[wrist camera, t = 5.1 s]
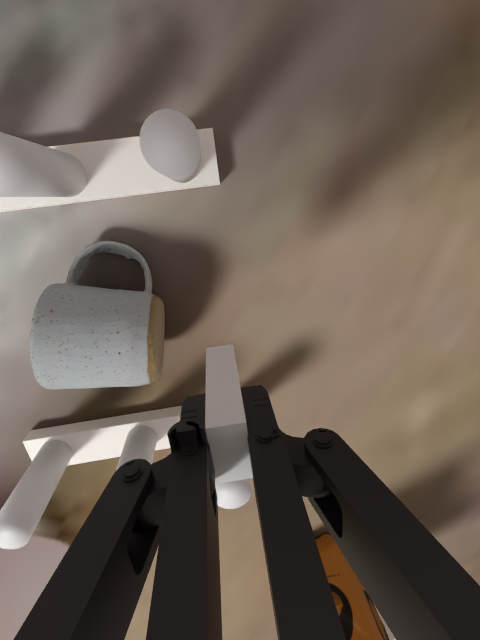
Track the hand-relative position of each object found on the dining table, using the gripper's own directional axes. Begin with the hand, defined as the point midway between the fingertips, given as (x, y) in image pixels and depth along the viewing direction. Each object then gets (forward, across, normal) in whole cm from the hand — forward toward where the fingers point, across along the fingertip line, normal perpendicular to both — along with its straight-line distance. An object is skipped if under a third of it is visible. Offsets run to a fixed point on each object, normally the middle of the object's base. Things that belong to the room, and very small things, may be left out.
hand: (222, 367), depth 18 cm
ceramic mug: (+11, +9, -1) cm, 14 cm away
